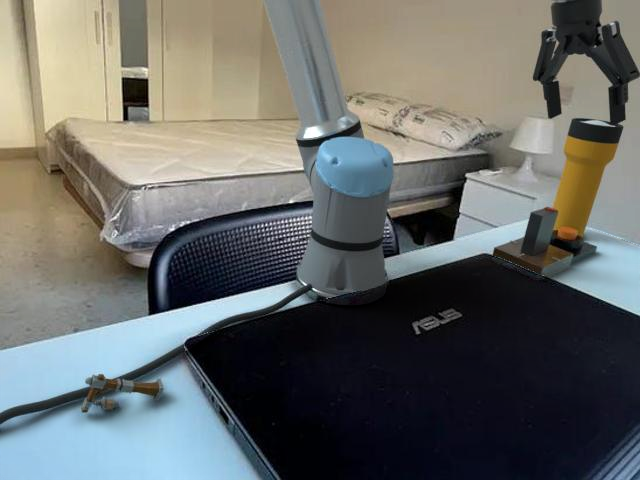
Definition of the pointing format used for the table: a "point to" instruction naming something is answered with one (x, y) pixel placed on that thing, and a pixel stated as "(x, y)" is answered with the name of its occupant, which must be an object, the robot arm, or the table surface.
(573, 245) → the button block
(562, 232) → the button
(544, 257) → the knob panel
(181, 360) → the table surface
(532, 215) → the dark gray rectangular block
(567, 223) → the flashlight
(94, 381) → the toy blaster gun
